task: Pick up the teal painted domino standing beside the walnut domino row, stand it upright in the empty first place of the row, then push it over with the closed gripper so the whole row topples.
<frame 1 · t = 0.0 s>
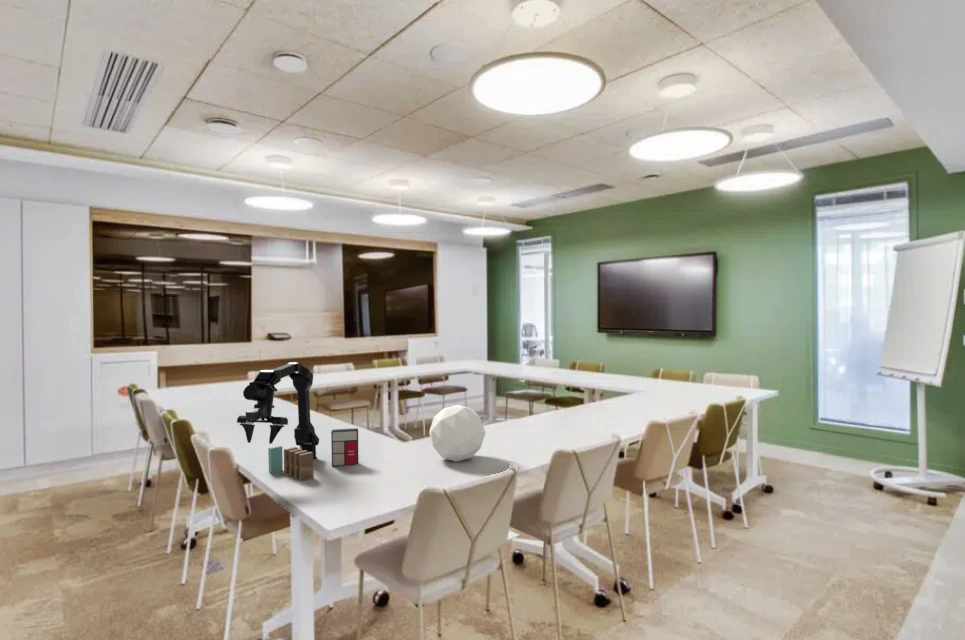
hand: (259, 443, 202), 15 cm above the table, tool pointing down, fingers open, 9 cm apart
domino 3: (296, 474, 213), on the table
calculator: (345, 465, 226), on the table
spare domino: (275, 471, 218), on the table
domino 2: (291, 472, 216), on the table
geometric sculpture: (457, 459, 233), on the table
domino 4: (301, 476, 210), on the table
domino 5: (306, 478, 208), on the table
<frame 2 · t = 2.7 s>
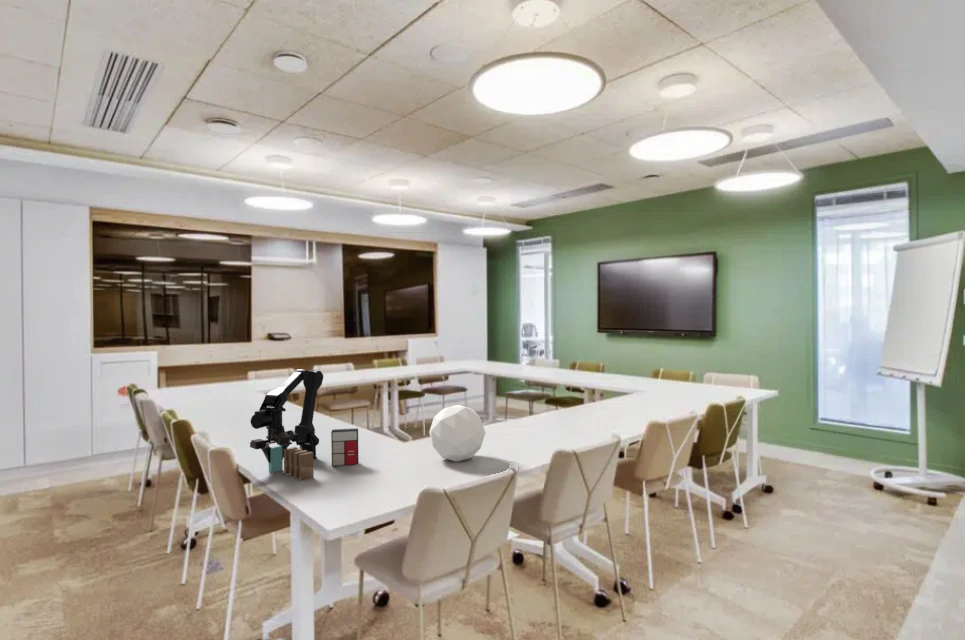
hand: (275, 461, 218), 4 cm above the table, tool pointing down, fingers closed on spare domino, 5 cm apart
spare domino: (275, 471, 218), on the table, touching gripper
everything else where it was.
when the fingers open (5 cm above the table, at t = 6.9 s): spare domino stays where it is, on the table.
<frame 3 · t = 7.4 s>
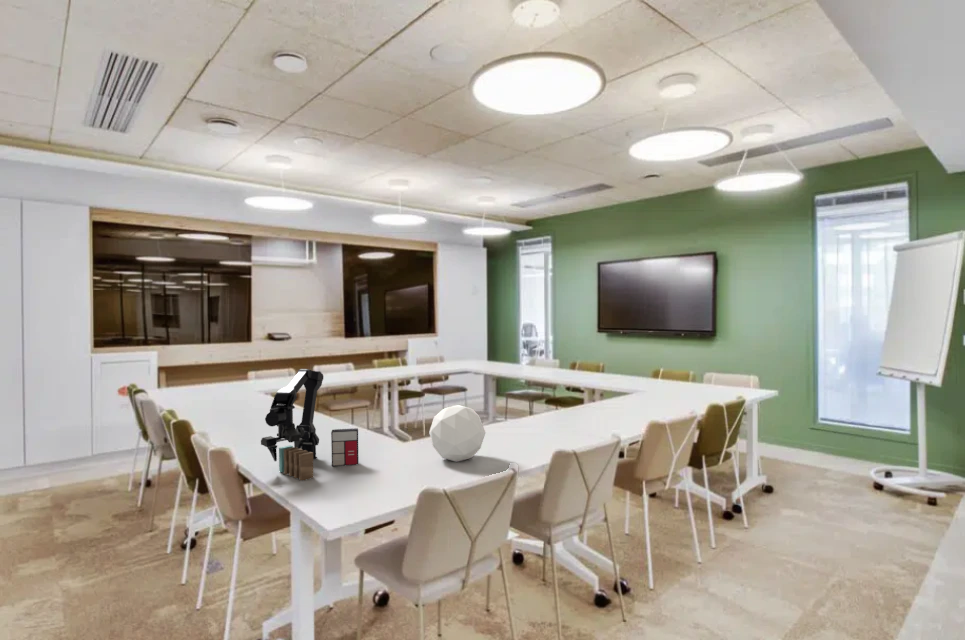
hand: (286, 458, 218), 5 cm above the table, tool pointing down, fingers open, 9 cm apart
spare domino: (286, 470, 218), on the table
everything else where it was.
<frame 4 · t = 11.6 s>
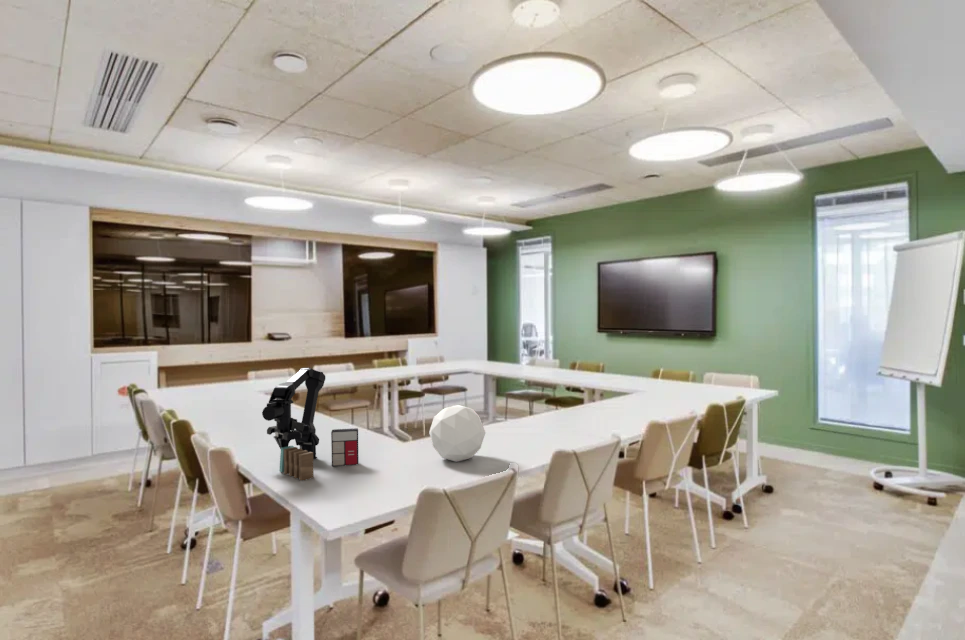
hand: (284, 453, 219), 7 cm above the table, tool pointing down, fingers closed
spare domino: (286, 470, 218), on the table, tilted 9°
everything else where it was.
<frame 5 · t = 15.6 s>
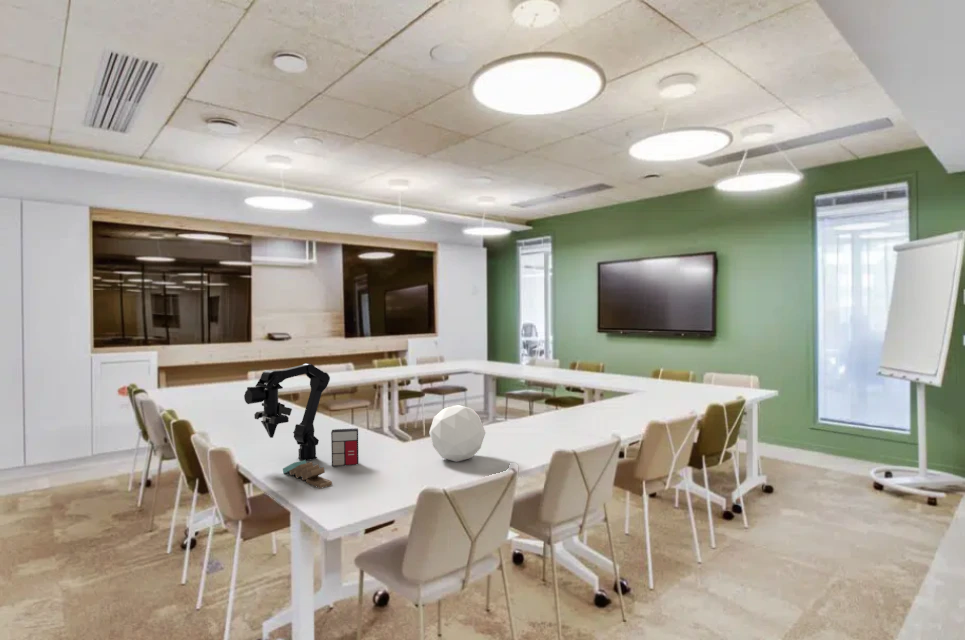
hand: (271, 437, 222), 13 cm above the table, tool pointing down, fingers closed
domino 3: (301, 474, 211), point 1 cm above the table, tilted 66°, touching domino 2, domino 4
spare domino: (288, 469, 217), point 1 cm above the table, tilted 65°, touching domino 2
domino 2: (295, 471, 214), point 1 cm above the table, tilted 65°, touching domino 3, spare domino
domino 4: (308, 476, 207), point 1 cm above the table, tilted 66°, touching domino 3, domino 5
domino 5: (312, 480, 205), on the table, tilted 90°, touching domino 4
everything else where it was.
at the end: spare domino inside the target area (1.1 cm from its centre), point 0.9 cm above the table; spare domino tilted 65°; domino 5 tilted 90° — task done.
